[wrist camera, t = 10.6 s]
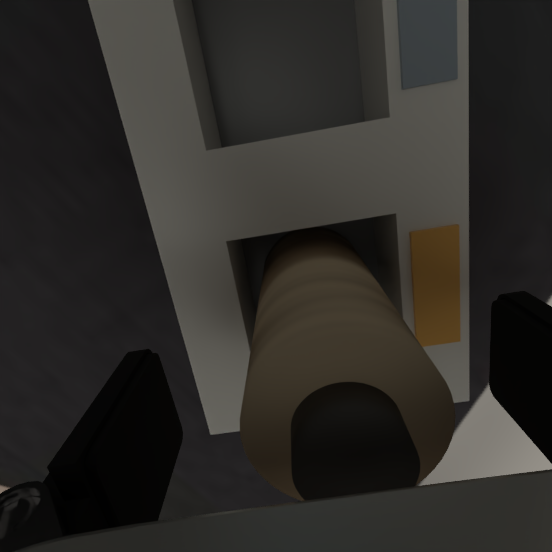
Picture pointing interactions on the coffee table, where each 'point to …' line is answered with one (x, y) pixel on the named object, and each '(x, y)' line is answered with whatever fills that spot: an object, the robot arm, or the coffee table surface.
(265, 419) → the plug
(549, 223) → the coffee table surface
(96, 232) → the coffee table surface
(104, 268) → the coffee table surface
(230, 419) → the socket block
